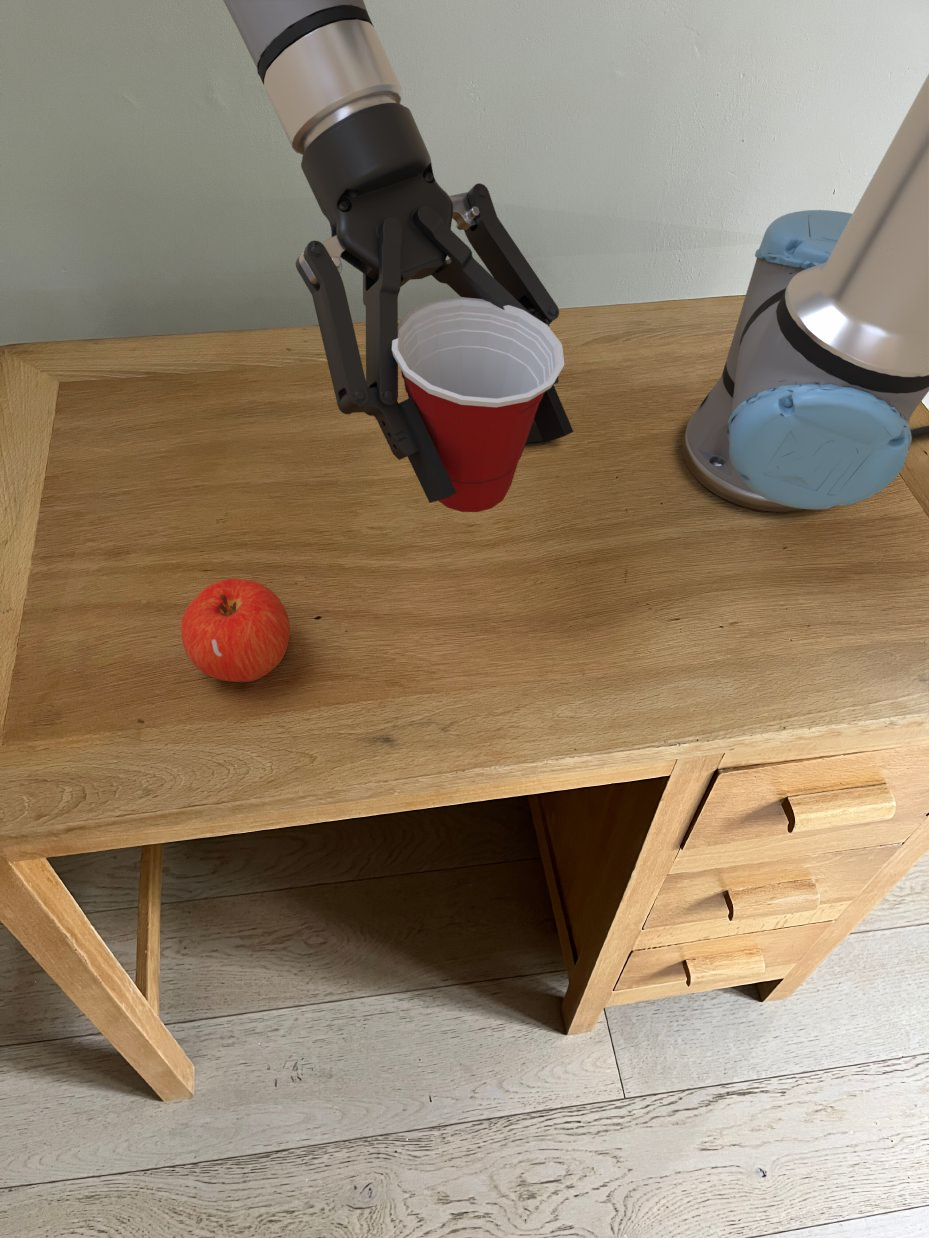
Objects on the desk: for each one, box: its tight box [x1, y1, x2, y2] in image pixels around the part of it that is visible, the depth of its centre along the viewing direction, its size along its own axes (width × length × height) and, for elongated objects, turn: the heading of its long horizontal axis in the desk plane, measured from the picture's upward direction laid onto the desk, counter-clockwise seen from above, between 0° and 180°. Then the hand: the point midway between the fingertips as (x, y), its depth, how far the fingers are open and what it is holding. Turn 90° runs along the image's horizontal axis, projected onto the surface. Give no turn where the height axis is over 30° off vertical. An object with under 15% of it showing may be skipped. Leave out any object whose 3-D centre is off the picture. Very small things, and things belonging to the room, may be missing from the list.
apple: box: [180, 578, 291, 683], centre depth 65 cm, size 8×8×8 cm
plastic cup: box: [392, 296, 565, 513], centre depth 57 cm, size 11×11×12 cm
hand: (502, 466), depth 57 cm, fingers closed on plastic cup, 9 cm apart
